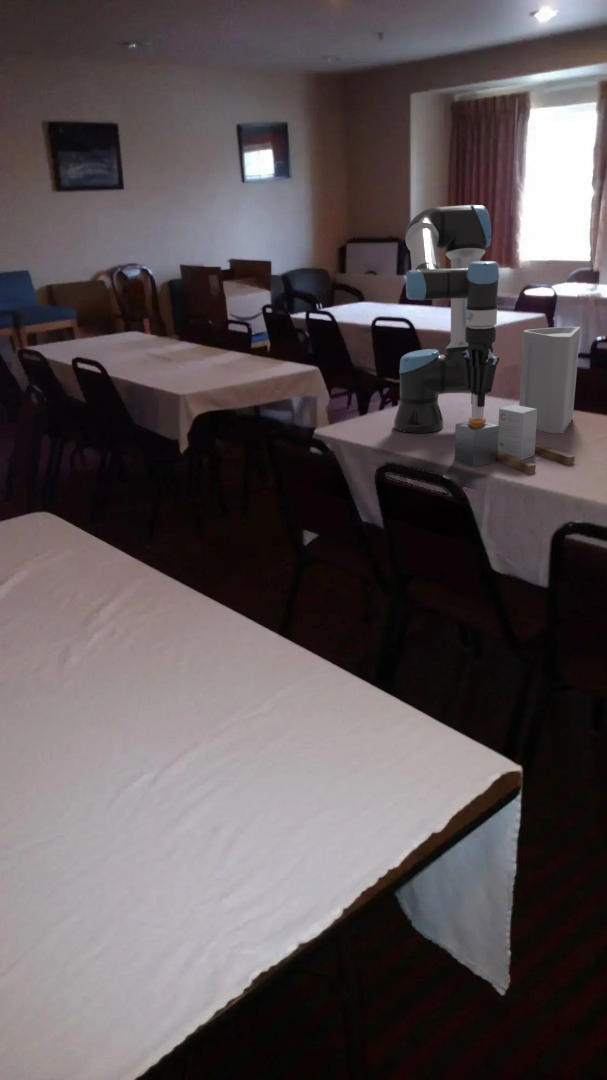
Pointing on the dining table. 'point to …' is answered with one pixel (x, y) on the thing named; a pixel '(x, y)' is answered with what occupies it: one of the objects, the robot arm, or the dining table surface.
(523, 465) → the track
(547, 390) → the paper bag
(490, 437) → the grey block with hole
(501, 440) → the small box
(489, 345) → the robot arm
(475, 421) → the orange piece
